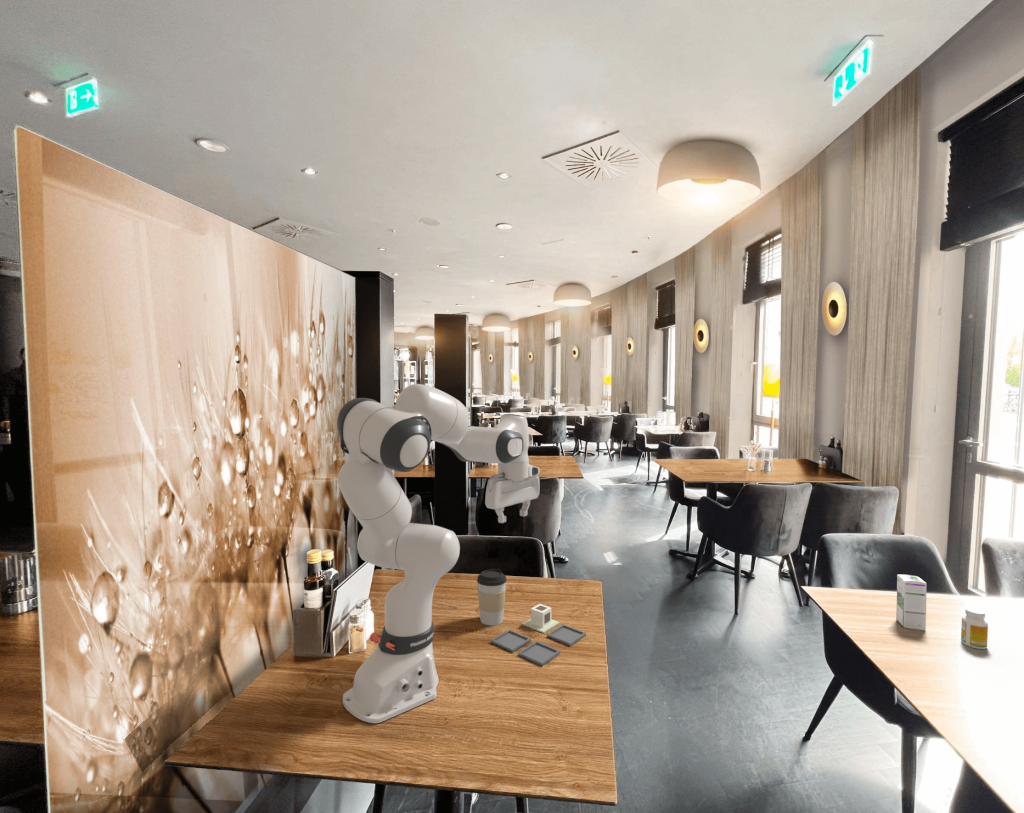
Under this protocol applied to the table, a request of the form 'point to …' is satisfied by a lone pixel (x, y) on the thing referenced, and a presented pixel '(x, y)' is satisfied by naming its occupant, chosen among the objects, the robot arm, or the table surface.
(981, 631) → the supplement bottle
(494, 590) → the coffee cup
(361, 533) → the robot arm
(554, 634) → the tray
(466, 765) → the table surface
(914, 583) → the syrup box
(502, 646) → the tray
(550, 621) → the letter cube
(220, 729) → the table surface
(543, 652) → the tray
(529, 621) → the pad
